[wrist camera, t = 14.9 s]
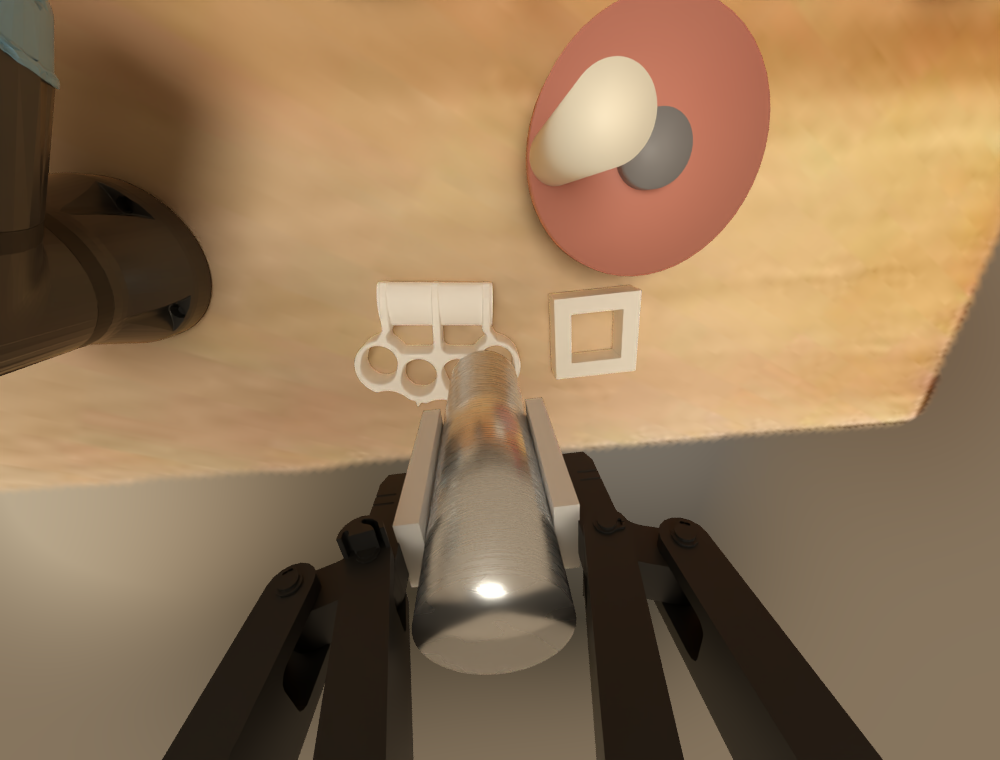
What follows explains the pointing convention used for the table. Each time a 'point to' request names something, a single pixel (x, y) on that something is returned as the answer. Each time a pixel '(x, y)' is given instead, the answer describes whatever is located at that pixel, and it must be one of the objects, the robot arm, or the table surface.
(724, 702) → the robot arm
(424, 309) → the knuckle duster
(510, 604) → the steel pin
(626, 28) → the handwheel
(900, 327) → the table surface
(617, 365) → the eye block
